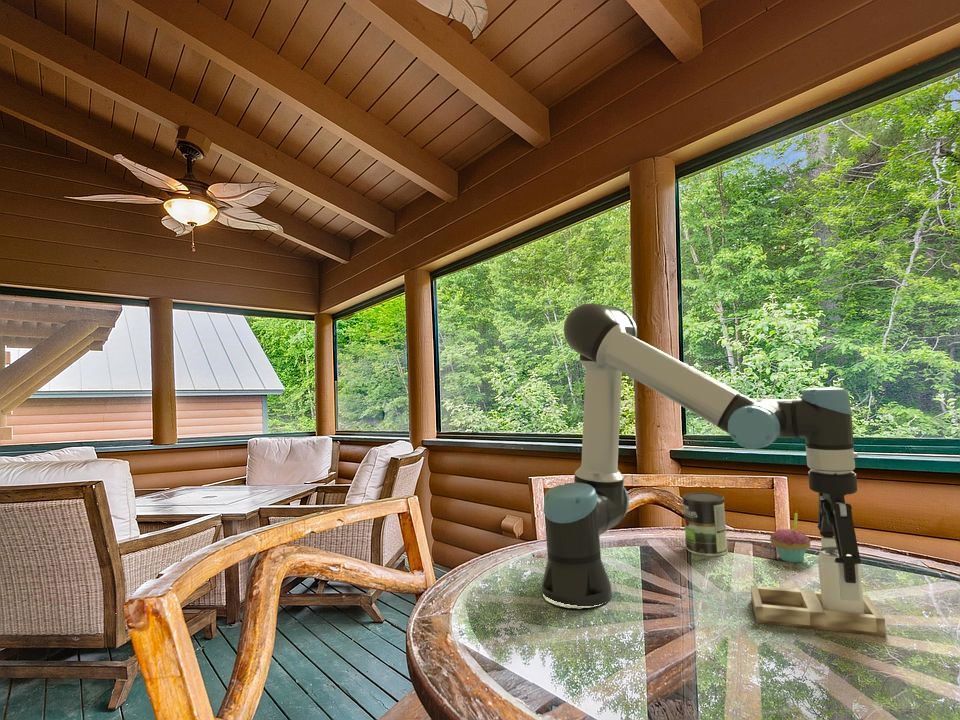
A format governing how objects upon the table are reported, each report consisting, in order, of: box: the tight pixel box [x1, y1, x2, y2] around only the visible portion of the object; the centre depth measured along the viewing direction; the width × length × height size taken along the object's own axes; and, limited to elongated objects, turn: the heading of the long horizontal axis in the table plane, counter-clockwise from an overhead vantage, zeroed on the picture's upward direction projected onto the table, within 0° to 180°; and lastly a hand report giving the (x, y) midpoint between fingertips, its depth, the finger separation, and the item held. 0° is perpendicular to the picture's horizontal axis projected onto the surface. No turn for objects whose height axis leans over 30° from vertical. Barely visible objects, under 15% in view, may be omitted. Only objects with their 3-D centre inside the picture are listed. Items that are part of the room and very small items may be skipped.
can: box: [817, 547, 865, 614], centre depth 97 cm, size 6×6×12 cm
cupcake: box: [769, 510, 811, 563], centre depth 128 cm, size 9×8×12 cm
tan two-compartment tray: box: [749, 585, 887, 637], centre depth 99 cm, size 20×10×3 cm, turn 67°
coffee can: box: [681, 491, 729, 557], centre depth 139 cm, size 10×10×14 cm
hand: (840, 584), depth 97 cm, fingers open, 13 cm apart
